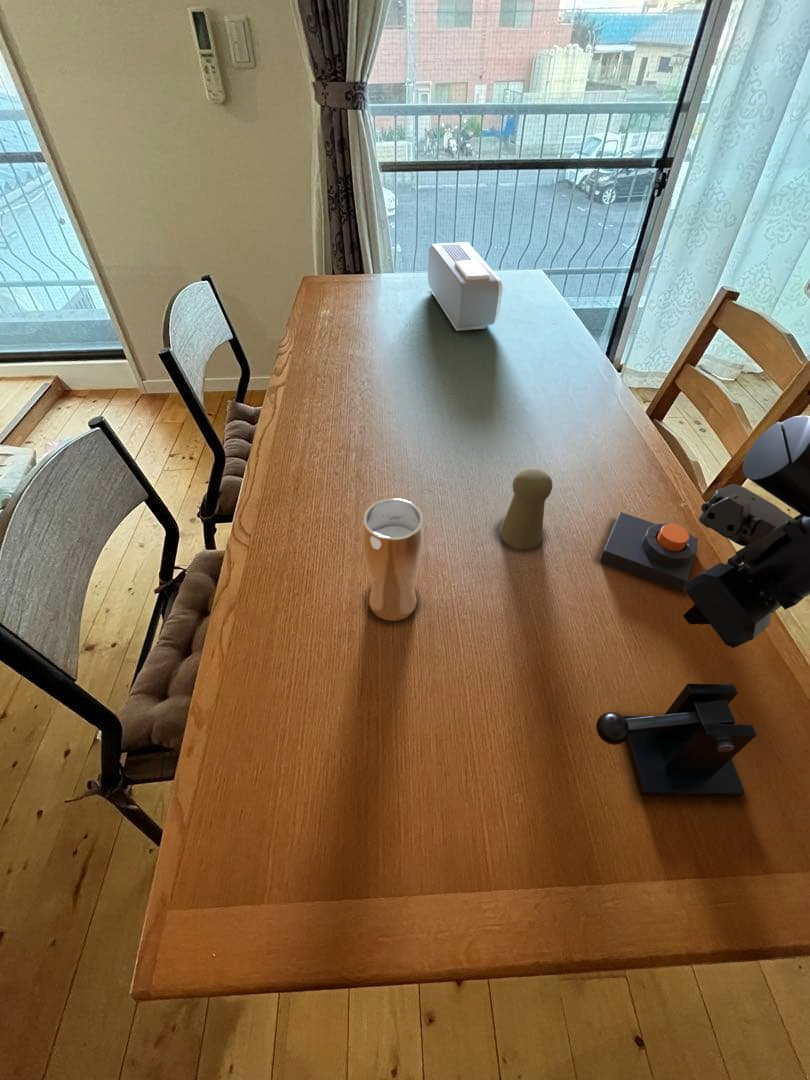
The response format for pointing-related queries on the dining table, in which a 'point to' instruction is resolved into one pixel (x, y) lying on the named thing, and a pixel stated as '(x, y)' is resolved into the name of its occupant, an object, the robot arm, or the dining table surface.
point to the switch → (663, 721)
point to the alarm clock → (464, 285)
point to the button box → (647, 552)
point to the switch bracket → (690, 751)
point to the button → (673, 537)
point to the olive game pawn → (526, 509)
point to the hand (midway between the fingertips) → (687, 618)
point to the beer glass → (393, 556)
